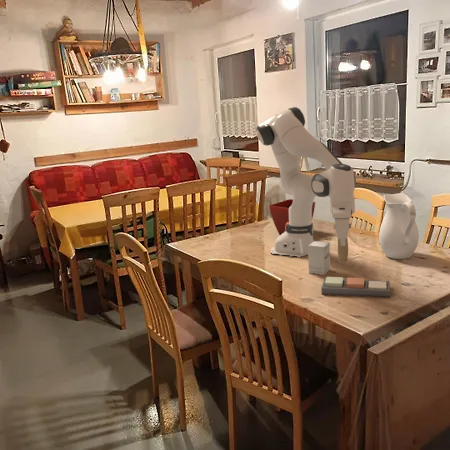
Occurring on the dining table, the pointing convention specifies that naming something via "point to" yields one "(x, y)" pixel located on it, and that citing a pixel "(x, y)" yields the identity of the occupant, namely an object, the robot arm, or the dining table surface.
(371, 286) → the key offwhite
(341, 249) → the handle
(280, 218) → the plant pot
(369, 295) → the keypad
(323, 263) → the supplement box
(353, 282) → the key terracotta
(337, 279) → the key sage
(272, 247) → the robot arm
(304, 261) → the dining table surface
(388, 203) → the pitcher
